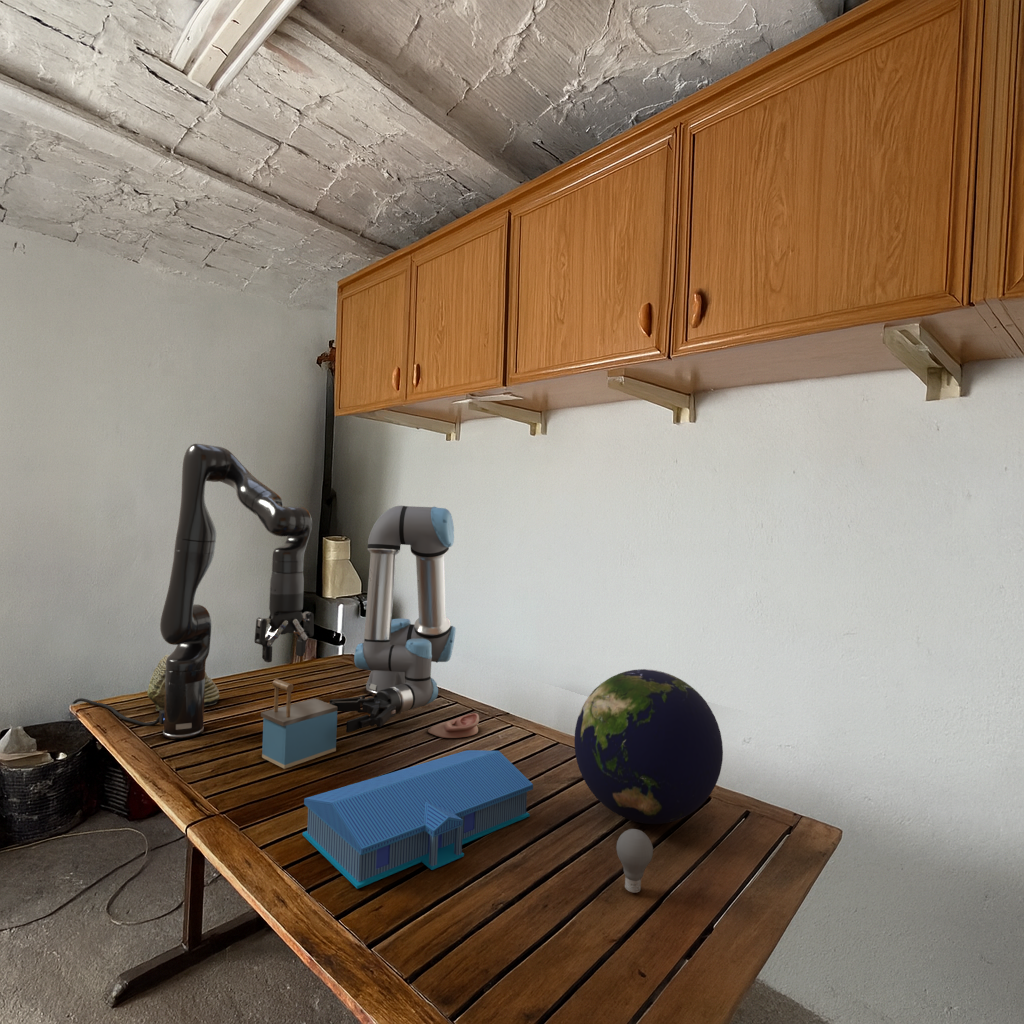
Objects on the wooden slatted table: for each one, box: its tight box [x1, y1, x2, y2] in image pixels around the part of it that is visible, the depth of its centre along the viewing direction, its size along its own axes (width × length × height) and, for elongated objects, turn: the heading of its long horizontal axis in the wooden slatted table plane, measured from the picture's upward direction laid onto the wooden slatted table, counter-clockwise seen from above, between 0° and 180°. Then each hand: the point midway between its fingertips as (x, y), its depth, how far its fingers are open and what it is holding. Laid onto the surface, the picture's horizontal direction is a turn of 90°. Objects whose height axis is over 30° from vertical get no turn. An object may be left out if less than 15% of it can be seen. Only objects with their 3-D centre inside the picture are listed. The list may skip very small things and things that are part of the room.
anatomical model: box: [427, 712, 480, 739], centre depth 174 cm, size 13×4×12 cm
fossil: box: [147, 654, 221, 712], centre depth 185 cm, size 9×18×15 cm, turn 132°
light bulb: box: [615, 828, 654, 894], centre depth 106 cm, size 6×6×10 cm
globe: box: [573, 668, 724, 825], centre depth 131 cm, size 30×30×30 cm
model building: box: [302, 749, 534, 890], centre depth 123 cm, size 39×24×10 cm, turn 132°
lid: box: [260, 678, 338, 726], centre depth 154 cm, size 15×9×9 cm, turn 143°
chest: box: [261, 711, 338, 770], centre depth 155 cm, size 14×9×10 cm, turn 143°
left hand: (284, 658), depth 150 cm, fingers open, 8 cm apart
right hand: (329, 720), depth 160 cm, fingers open, 13 cm apart
